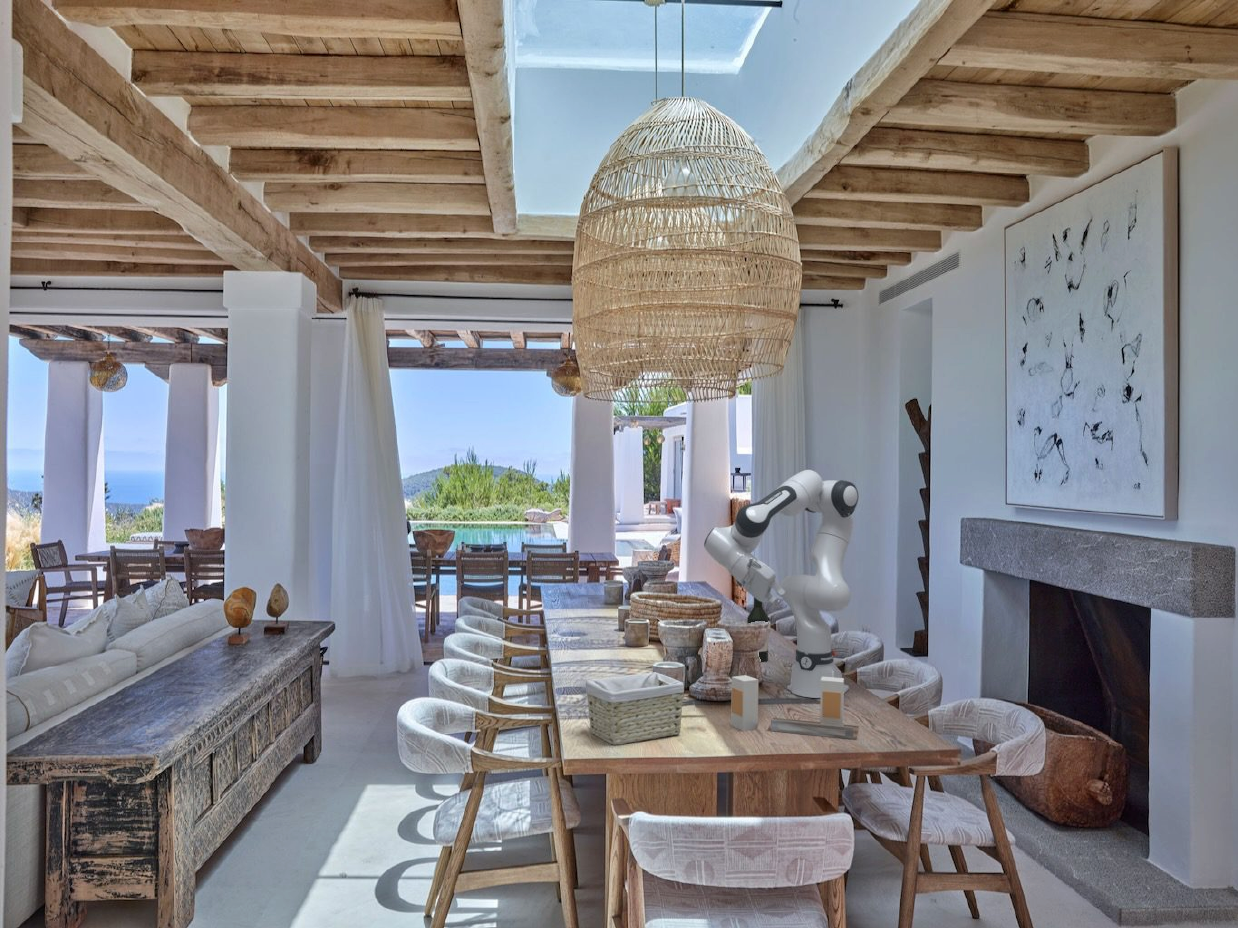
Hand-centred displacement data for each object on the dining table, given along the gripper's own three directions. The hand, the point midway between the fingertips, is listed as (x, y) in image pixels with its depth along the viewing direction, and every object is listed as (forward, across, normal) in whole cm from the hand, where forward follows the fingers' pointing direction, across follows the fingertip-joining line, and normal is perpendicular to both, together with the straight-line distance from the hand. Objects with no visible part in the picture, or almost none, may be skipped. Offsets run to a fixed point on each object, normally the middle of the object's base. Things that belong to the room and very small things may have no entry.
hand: (781, 599), depth 263 cm
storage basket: (-2, -5, +60) cm, 60 cm away
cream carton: (+17, +3, +35) cm, 39 cm away
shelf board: (+32, -1, +24) cm, 40 cm away
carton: (+35, -2, +20) cm, 40 cm away
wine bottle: (-1, +87, -4) cm, 87 cm away
